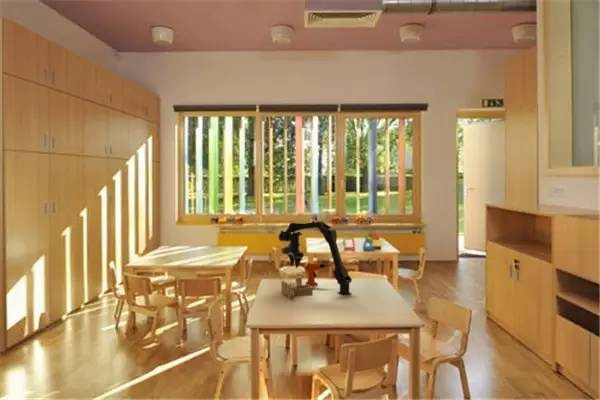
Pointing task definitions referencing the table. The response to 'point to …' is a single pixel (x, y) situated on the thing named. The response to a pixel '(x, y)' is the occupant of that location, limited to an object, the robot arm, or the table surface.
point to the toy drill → (311, 274)
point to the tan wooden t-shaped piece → (295, 290)
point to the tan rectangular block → (293, 285)
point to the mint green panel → (299, 280)
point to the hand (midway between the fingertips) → (294, 266)
